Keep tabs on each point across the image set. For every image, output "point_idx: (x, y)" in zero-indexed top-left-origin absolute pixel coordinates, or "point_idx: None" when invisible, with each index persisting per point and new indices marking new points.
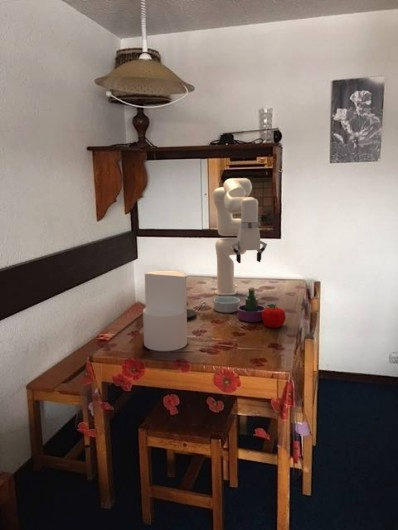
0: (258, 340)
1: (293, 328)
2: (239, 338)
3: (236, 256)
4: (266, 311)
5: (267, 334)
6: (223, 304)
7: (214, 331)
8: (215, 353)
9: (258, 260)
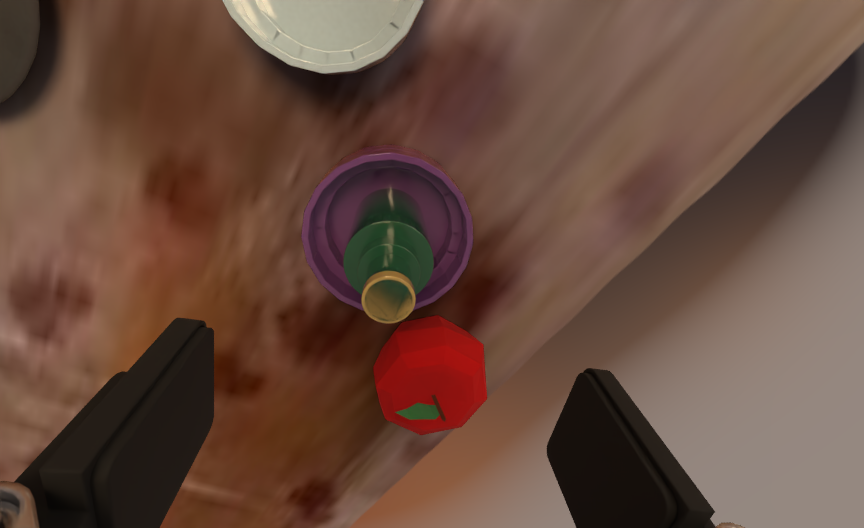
0: (283, 451)
1: None
2: (219, 417)
3: (54, 450)
4: (386, 400)
5: (345, 416)
6: (257, 42)
7: (131, 318)
8: None
9: (559, 453)
